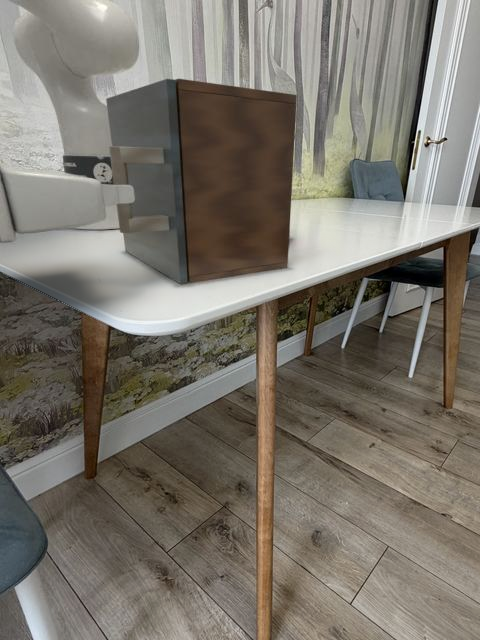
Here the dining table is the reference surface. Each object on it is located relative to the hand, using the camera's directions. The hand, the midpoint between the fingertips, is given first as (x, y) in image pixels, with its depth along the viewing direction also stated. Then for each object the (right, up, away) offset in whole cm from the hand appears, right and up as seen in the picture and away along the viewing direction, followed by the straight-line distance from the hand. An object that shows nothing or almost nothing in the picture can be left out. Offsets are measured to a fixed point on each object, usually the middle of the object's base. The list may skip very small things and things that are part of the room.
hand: (123, 191), depth 45 cm
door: (-3, -6, +12) cm, 14 cm away
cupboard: (+7, -4, +18) cm, 20 cm away
